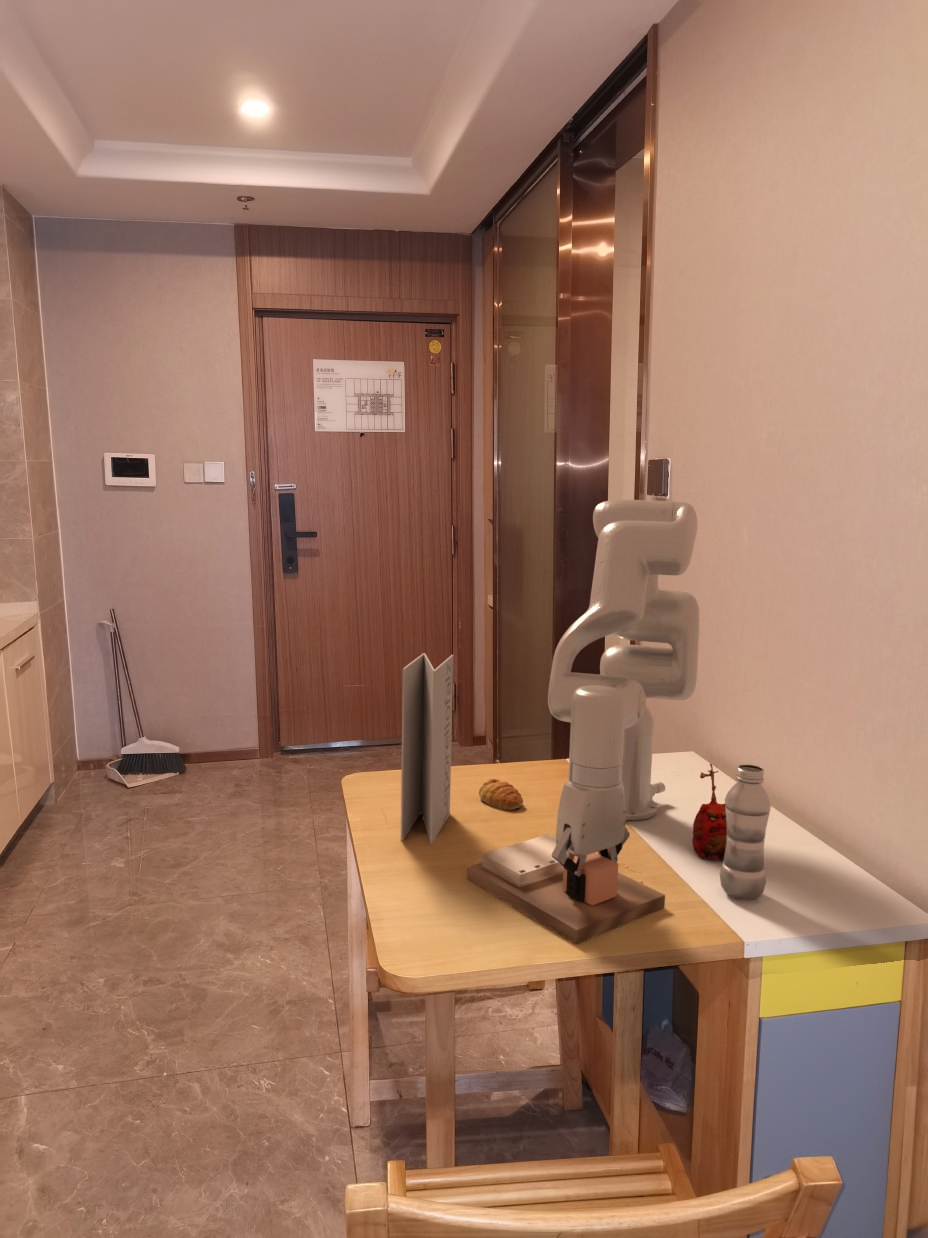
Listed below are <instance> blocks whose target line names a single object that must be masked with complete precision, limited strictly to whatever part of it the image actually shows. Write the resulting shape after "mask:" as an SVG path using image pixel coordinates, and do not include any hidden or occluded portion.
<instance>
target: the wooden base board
mask: <svg viewBox="0 0 928 1238" xmlns="http://www.w3.org/2000/svg"><path fill="white" fill-rule="evenodd" d="M555 847H556V836H553V835H551V834H549V833H547V834H543V835H540V836H538V837H537V836H536V837H534V838H530V839H528V840H524V841H520V842H517V843H514V844H510V845H506V846H502V847H501V848H497V849H494V850H490V851H487V852H484V853H481V862H480V863H476V864H473V865H470V866H467V871H466V872H467V875H466V879H467V880H468V881H469V882H472V883H473V884H474V885H476V886H478V887H480V888H481V889H483V890H485V891H486V892H488V893H489V894H492V895H493V896H495V897H496V898H498V899H499V900H501V901H503V902H505V903H506V904H508V905H510V906H512V908H513V907H514V908H515V909H517V910H518V911H520V912H521V913H524V914H525V915H526V916H528V917H530V918H531V919H534V921H536V922H538V923H541V925H543V926H546V927H547V928H548V927H549V929H550V930H552V931H554V932H555V933H557V934H558V935H560V936H562V937H564V938H565V939H567V940H568V941H571V942H572V943H574V944H575V945H576V944H580V943H582V942H584V941H587V940H590V939H592V938H594V937H597V936H598V935H601V934H604V933H607V932H608V931H611V930H614V929H616V928H618V927H621V926H624V925H625V924H629V923H631V922H632V921H636V920H638V919H639V918H640V919H641V918H643V917H645V916H647V915H650V914H653V913H655V912H657V911H660V910H663V909H664V908H665V906H666V905H665V904H666V894H664V893H661V892H660V891H658V890H656V889H654V888H651V887H649V886H648V885H645V884H643V883H641V882H639V881H637V880H635V879H633V878H631V877H629V876H627V875H625V874H623V873H620V872H618V880H617V896H616V897H613V898H611V899H608V900H605V901H603V902H600V903H598V904H595V905H590V904H588V903H587V902H585V901H582V902H579V901H578V900H576V899H574V898H572V897H570V896H568V895H567V893H566V891H564V890H563V873H564V867H563V866H562V865H561V864H560V863H559V862H558V861H557V860H555V859H554V858H553V857H552V852H553V850H554V849H555ZM566 854H567V853H566Z"/></svg>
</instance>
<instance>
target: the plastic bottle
mask: <svg viewBox="0 0 928 1238" xmlns="http://www.w3.org/2000/svg"><path fill="white" fill-rule="evenodd" d="M736 772H737V773H736V775H735V779H736V780H737V782H735V784H734V785H732V787H731V788H730V789H729V790H728V792H726V796H725V798H724V804H725V809H726V821H727V842H726V848H725V855H724V860H722V861H723V862H722V863H721V868H720V872H719V877H720V878H719V880H720V886H721V888H722V889H723V891H724V893H726V894H727V895H729V896H731V897H733V898H737V899H741V900H756V899H758V898H760V897H761V896H762V895H763V894H764V892H765V889H766V885H767V876H766V870H765V868H766V867H765V852H764V851H765V848H764V847H765V839H766V831H767V826H768V822H769V817H770V812H771V809H772V808H771V807H772V804H771V799H770V797H769V795H768V793H767V791H766V790H765V788H764V787H763V785H762V783H764V780H765V779H764V774H765V773H764V772H765V771H764V768H763V767H761V766H759V765H755V764H745V763H744V764H739V765H738V766H737V771H736Z"/></svg>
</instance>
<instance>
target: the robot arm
mask: <svg viewBox="0 0 928 1238" xmlns="http://www.w3.org/2000/svg"><path fill="white" fill-rule="evenodd" d="M592 522H593V523H592V524H593V528H594V532H595V535H596V536H597V538H598V540H597V546H596V547H597V548H596V553H595V562H594V569H593V577H592V585H591V591H590V599H589V606H588V608H587V610H586V611H585V612H584V614H582V615H581V616H579V618H577V620H575V621H574V622H573V623H572V624H571V625H570V626H569V627H568V629H567V630H566V631H565V632H564V634H563V635H562V636H561V638H560V640H559V642H558V643H557V646H556V648H555V650H554V655H553V657H552V664H551V670H550V671H551V672H550V678H549V685H548V694H547V706H548V709H549V712H550V714H551V715H552V716H553V717H554V718H555V719H557V720H558V721H561V722H566V723H570V732H569V733H570V735H569V736H570V737H569V759H568V760H569V761H568V779H567V780H568V781H565V782H564V784H563V788H562V790H561V795H560V800H559V804H558V805H559V806H558V810H557V819H556V830H555V837H556V847H555V849H554V850H553V852H552V857H553V858H554V859H555V860H557V861H558V862H559V863H560V864H561V865H562V866H563V867H564V869H565V870H567V886H566V893H567V895H568V896H570V897H572V898H574V899H576V900H578V901H579V902H582V901H584V899H585V879H586V877H585V875H584V874H582V873H583V869H584V865H585V861H586V857H587V855H588V854H592V853H597V854H599V855H601V856H603V857H605V858H608V859H610V860H612V861H614V862H616V863H618V861H619V858H618V855H619V854H620V853H621V850H622V848H623V846H624V845H625V843H626V842H627V840H628V839H629V838H630V832H629V830H628V828H627V827H626V821H640V820H641V821H642V820H646V819H650V818H652V817H654V816H655V815H657V814H658V804H657V802H656V801H655V800H654V799H653V797H655V795H656V794H661V793H664V792H665V791H666V786H665V784H664V783H663V782H662V781H661V782H660V781H659V782H655V783H651V779H652V766H653V765H652V763H653V762H652V761H653V749H654V748H653V747H654V746H653V744H654V728H655V725H654V724H655V723H654V718H653V715H652V713H651V711H650V709H649V708H648V706H647V705H646V704H647V703H646V702H647V699H656V700H667V701H685V700H688V699H690V698H691V697H692V696H693V694H694V692H695V690H696V686H697V676H698V659H699V658H698V656H699V641H700V640H699V637H700V609H699V608H700V607H699V604H698V601H697V599H696V598H695V596H694V595H692V593H690V592H686V591H682V590H667V589H666V590H665V589H660V588H659V576H661V575H662V576H674V577H675V576H681V575H682V574H684V573H685V572H686V571H687V570H688V567H689V566H690V563H691V560H692V557H693V552H694V546H695V541H696V538H697V532H698V517H697V512H696V510H695V508H694V506H692V505H691V504H690V503H688V502H683V501H673V500H672V501H669V500H647V499H646V500H644V499H643V500H642V499H610V500H606V501H602V502H600V503H598V504H597V505H596V506H595V508H594V510H593V514H592ZM612 634H613V636H615V637H616V638H619V639H622V640H626V641H628V640H629V641H636V642H647V643H649V642H650V643H661V644H668V645H670V647H663V646H651V645H642V644H641V645H640V644H639V645H638V644H637V645H636V644H616V645H612V646H610V647H609V648H607V649H605V651H604V652H603V653H602V655H601V657H600V663H599V671H600V672H599V674H596V673H586V672H585V673H583V672H573V671H572V668H573V663H574V662H575V661H574V660H575V659H576V656H577V655H578V654H579V653H580V651H582V649H584V648H585V647H587V646H588V645H589V644H591V643H593V642H595V641H597V640H599V639H601V638H604V637H606V636H610V635H612ZM571 671H572V672H571ZM566 853H567V854H566ZM575 856H577V857H578V859H577V863H575V862H574V857H575Z"/></svg>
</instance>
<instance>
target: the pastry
mask: <svg viewBox="0 0 928 1238" xmlns="http://www.w3.org/2000/svg"><path fill="white" fill-rule="evenodd" d="M478 795H479V797H480V799H481V802H482V801H483V802H484V803H485V804H487V805H489V804H490V805H489V806H492V807H494V806H495V807H494V808H497V809H500V810H508V811H511V810H514V809H517V808H519V809H520V808H521V807H522V805H523V804H524V800H523V797H522V795H521V793H520V792H519V790H518V789H517V788H516V787H515V786H513V784H510V783H509V782H507V781H501V780H500V779H497V778H491V779H490V778H489V779H488V780H486V781H485V782H483V784H481V787H480V788H479V790H478Z"/></svg>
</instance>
